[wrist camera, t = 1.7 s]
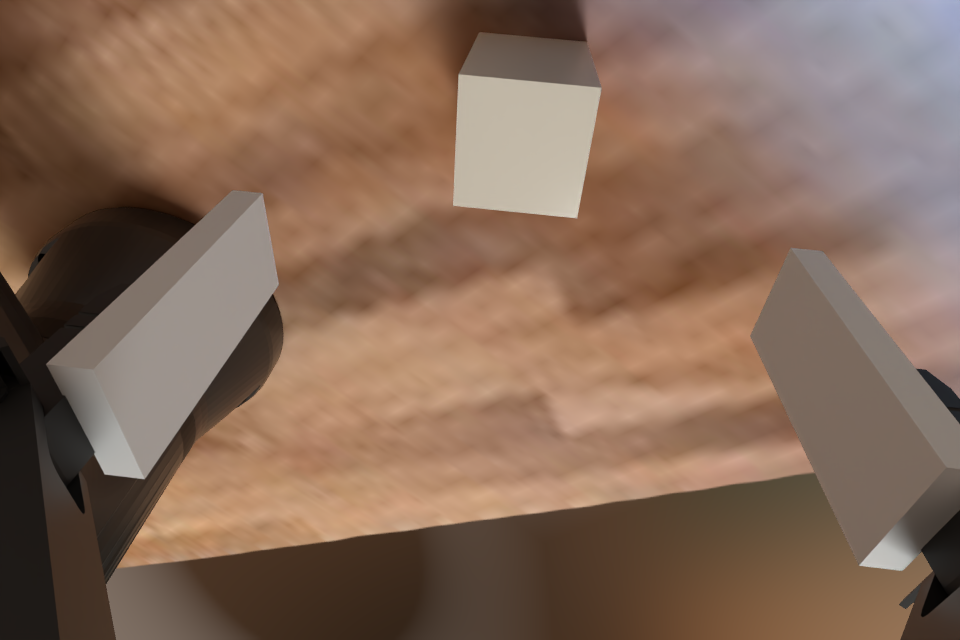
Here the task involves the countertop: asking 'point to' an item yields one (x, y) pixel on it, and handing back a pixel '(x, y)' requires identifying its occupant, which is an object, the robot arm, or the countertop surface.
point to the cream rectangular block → (524, 124)
